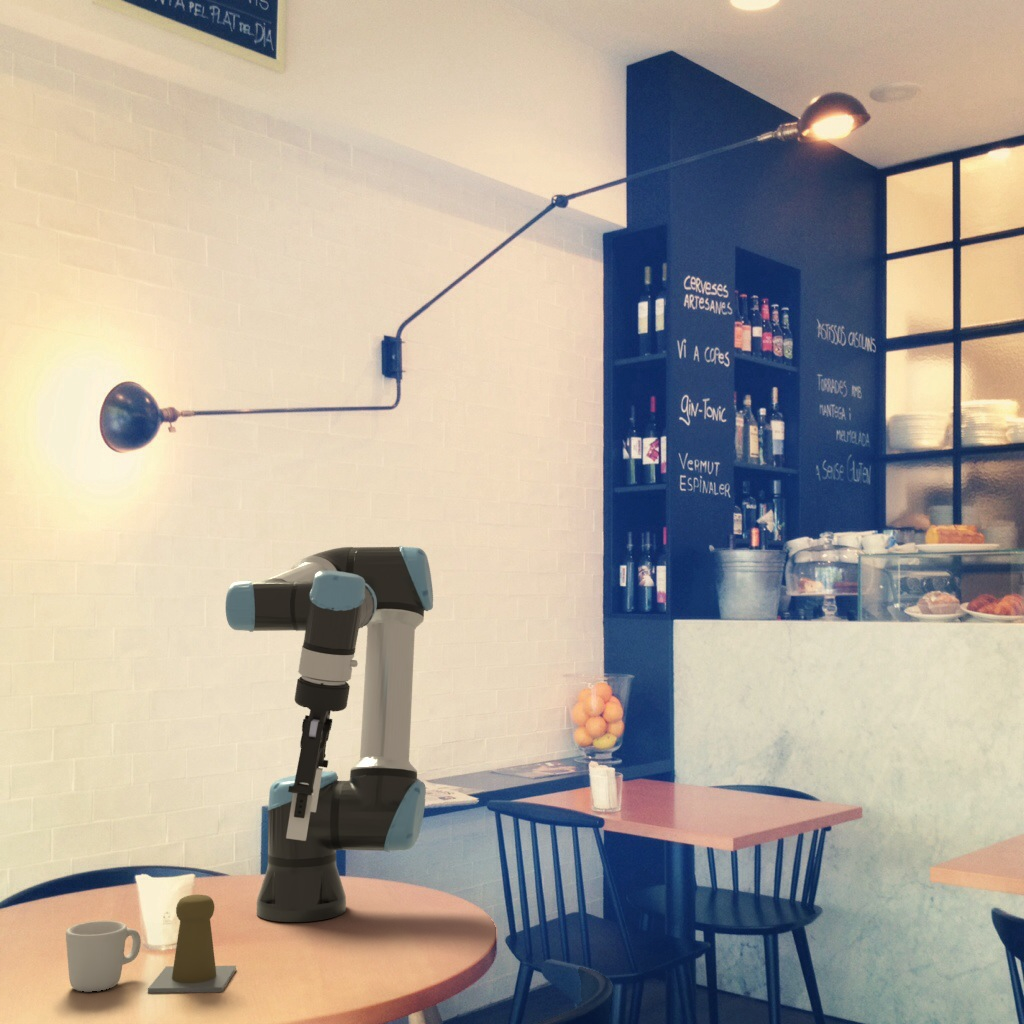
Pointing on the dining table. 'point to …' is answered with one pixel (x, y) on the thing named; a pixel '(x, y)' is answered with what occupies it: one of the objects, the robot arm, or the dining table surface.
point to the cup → (98, 954)
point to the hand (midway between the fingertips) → (301, 824)
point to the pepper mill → (194, 940)
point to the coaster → (170, 986)
